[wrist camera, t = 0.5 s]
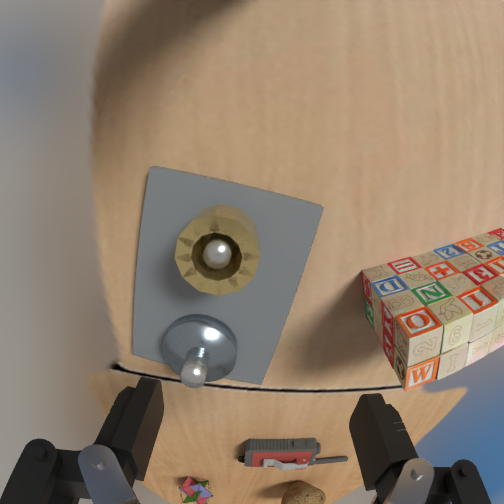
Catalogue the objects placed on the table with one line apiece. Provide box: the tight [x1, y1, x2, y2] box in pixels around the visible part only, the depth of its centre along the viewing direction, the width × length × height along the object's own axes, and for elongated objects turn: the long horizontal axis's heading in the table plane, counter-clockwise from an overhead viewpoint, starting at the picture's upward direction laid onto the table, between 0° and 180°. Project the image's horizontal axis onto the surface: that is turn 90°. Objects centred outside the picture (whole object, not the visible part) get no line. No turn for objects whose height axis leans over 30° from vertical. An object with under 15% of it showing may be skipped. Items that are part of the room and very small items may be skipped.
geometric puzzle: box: [179, 476, 214, 504], centre depth 43 cm, size 7×7×8 cm
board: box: [133, 166, 324, 385], centre depth 29 cm, size 22×16×1 cm
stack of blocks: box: [361, 228, 504, 391], centre depth 23 cm, size 21×6×12 cm, turn 105°
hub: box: [162, 314, 237, 388], centre depth 28 cm, size 8×8×6 cm
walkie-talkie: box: [238, 438, 348, 470], centre depth 39 cm, size 9×4×20 cm
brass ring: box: [174, 204, 260, 296], centre depth 23 cm, size 6×6×4 cm
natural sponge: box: [281, 481, 326, 504], centre depth 41 cm, size 9×9×10 cm
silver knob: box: [201, 232, 241, 269], centre depth 24 cm, size 5×5×6 cm
